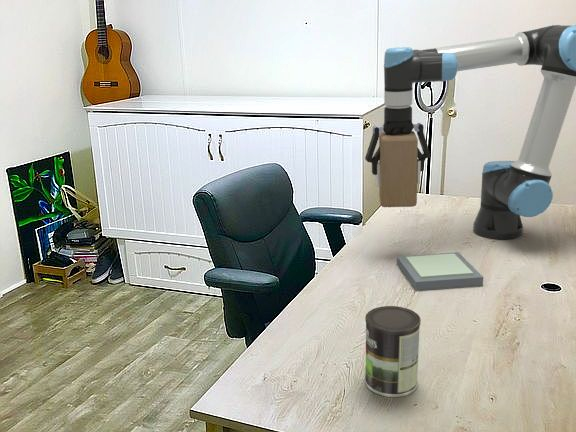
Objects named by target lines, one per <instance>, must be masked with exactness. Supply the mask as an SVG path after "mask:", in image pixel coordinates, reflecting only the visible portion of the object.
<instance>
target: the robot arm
mask: <svg viewBox="0 0 576 432" xmlns="http://www.w3.org/2000/svg"><path fill="white" fill-rule="evenodd" d="M383 60H384V61H383V74H384V75H383V77H384V78H383V79H384V90H383V91H384V94H383V95H384V96H383V97H384V98H383V99H384V102H383V104H384V106H385V107H384V109H383V113H384V114H383V115H384V116H383V120H384V121H383V122H384V123H383V125H382V126H377V125H373V126H372V136H371V138H370V143H369V146H368V148H367V151H366V154H365V157H364V159H365V161H366V162H367V163H370V164H371V173H372V175H373V176H375V179H374V181H375V186H376V187H377V188H379V187H380V163H379V159H380V146H379V145H378V148H377V144H378V142H379V135H380V134H381V132H382V131H384V132H385V133H386V134H387V135H397V134H404V135H405V134H410V133H411V131H414V132H416V134H417V135H416V136H417V139H418V140H419V141H418V142H419V144H420V146H421V149H419V147H418V156H417V185H419V184H421V172H423V171H424V169H425V160H426V159H428V158H429V159H430V158H431V157H432V154H431V151H430V149H429V145H428V143H427V142H428V141H427V139H426V136H425V133H424V125H423V124H422V123H420V122H418V123H413V107H412V104H413V89H414V88H413V84H418V83H430V82H431V83H433V82H442V83H443V82H448V81H453V80H454V79H455V78H456V76H457V73H458V72H462V71H471V70H477V69H483V68H491V67H498V66H505V65H511V64H517V66H529V65H532V66H533V65H534V66H535V65H536V66H541V68H540V73H541V75H542V77H543V80H542V84H541V87H540V90H539V92H538V97H537V100H536V102H535V105H534V109H533V112H532V115H531V118H530V121H529V124H528V128H527V131H526V134H525V137H524V141H523V144H522V147H521V150H520V152H519V153H520V154H519V156H518V159H517V160H516V161H515V160H493V161H492V160H491V161H487V162H486V163H484V165H483V167H482V172H481V176H482V177H481V191H480V207H479V210H478V211H477V214H476V217H475V218H474V219H475V220H474V221H473V227H472V229H473V233H475V234H476V235H478V236H481V237H483V238H488V239H495V240H513V239H516V238H517V239H518V238H519V237H521V236H522V235H523V234H524V233H523V232H524V230H523V229H524V225H523V221H522V217H525V218H533V217H537V216H539V215H541V214H542V213H544V212H545V211H546V210H547V209H548V208H549V207H550V205H551V203H552V201H553V198H554V192H553V190H552V187H551V185H550V182H551V178H552V176H553V174H552V172H551V170H550V165H551V161H552V158H553V155H554V152H555V149H556V147H557V143H558V140H559V138H560V134H561V130H562V127H563V125H564V122H565V118H566V116H567V113H568V110H569V107H570V105H571V104H570V103H571V101H572V97H573V96H574V91H575V89H576V24H574V25H560V24H557V25H556V24H555V25H554V24H553V25H548V26H544V27H539V28H536V29H535V28H534V29H530V30H526V31H521V32H520V31H519V32H517V33H515V35H514V36H511V37H504V38H503V37H502V38H496V39H489V40H481V41H476V42H474V41H473V42H469V43H468V42H467V43H462V44H460V43H459V44H455V45H447V46H442V47H441V46H439V47H435V48H427V49H413V48H412V47H409V46H408V47H407V46H406V47H405V46H403V47H402V46H401V47H400V46H399V47H398V46H397V47H389V48H386V50H385V52H384V58H383ZM376 148H377V150H376ZM375 150H376V151H375ZM421 151H422V152H423V153H422V152H421Z"/></svg>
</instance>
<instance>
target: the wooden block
mask: <svg viewBox="0 0 576 432" xmlns="http://www.w3.org/2000/svg"><path fill="white" fill-rule="evenodd" d="M418 140H419V138H418V136H417V135H416V133H415V130H412V131H411V133H410V134H405V135H404V134H397V135H387V134H386V133H385V132H384V131H382V132H381V134H380V135H379V138H378V147H379V146H380V159H379V161H378V162H379V163H380V187H378V189H379V192H378V193H379V194H378V195H379V202H380V205H381V207H383V208H409V207H410V208H411V207H412V208H413V207H416V206H417V204H418V184H417V159H418V157H417V156H418V148H419V145H418V144H419V143H418V142H419V141H418Z"/></svg>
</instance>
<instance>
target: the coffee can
mask: <svg viewBox="0 0 576 432" xmlns="http://www.w3.org/2000/svg"><path fill="white" fill-rule="evenodd" d="M421 321H422V320H421V317H420V315H419V314H418V313H417V312H415V311H414V310H412V309H409V308H407V307H404V306H398V305H397V306H396V305H384V306H383V305H382V306H379V307H375V308H372V309H370V310H369V311H368V312H367V313H366V314H365V369H364V370H365V375H364V376H365V377H364V384H365V386H366V387H367V388H368V390H369V391H371V392H372V393H374V394H376V395H379V396H382V397H387V398H401V397H405V396H409V395H410V394H412V393H413V392H415V391H416V389H417V388H418V386H419V385H418V374H419V372H418V370H419V369H418V368H419V351H420V350H419V348H420V328H421V327H420V326H421Z"/></svg>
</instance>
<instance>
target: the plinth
mask: <svg viewBox="0 0 576 432" xmlns="http://www.w3.org/2000/svg"><path fill="white" fill-rule="evenodd" d="M396 266H397V267H398V269H399V270H400V271H401V273H402V274H403V276H404V277H405V278H406V279H407V282H409V284H410V285H411V287H412V288H413V290H414V291H415V292H419V291H432V290H433V291H435V290H442V289H445V290H446V289H448V290H449V289H457V288H458V289H461V288H471V287H483V286H484V276H483V275H482V274H481V273H480V272H479V271H478V270H477V269H476V268H475V266H473V265H472V264H471V263H470V262H469V261H468V260H467V259H466V258H465V257H464V256H463V255H462V254H461V253H460V252H458V251H457V252H444V253H443V252H441V253H429V254H428V253H426V254H411V255H399V256H398V255H397V256H396Z"/></svg>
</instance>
